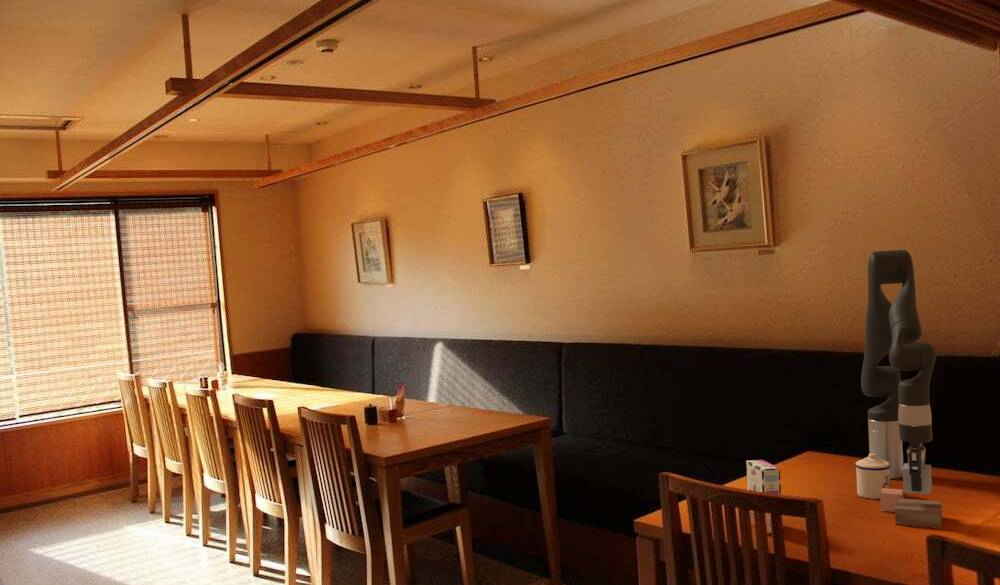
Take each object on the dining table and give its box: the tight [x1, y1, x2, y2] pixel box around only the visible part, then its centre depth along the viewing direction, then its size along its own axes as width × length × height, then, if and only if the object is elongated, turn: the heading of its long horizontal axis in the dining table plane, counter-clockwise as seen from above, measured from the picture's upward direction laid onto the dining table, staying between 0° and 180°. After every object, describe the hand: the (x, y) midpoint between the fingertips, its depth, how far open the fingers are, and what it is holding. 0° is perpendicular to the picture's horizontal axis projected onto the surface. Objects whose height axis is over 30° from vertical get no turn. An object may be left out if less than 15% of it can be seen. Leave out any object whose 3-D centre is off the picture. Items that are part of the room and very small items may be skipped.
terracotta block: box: [880, 488, 904, 513], centre depth 229 cm, size 5×5×5 cm
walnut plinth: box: [894, 497, 943, 529], centre depth 219 cm, size 10×10×4 cm
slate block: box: [902, 462, 933, 495], centre depth 219 cm, size 6×6×6 cm
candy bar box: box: [745, 459, 782, 535], centre depth 220 cm, size 11×5×16 cm, turn 5°
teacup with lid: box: [854, 453, 891, 500], centre depth 244 cm, size 12×9×12 cm
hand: (917, 487), depth 219 cm, fingers closed on slate block, 6 cm apart
